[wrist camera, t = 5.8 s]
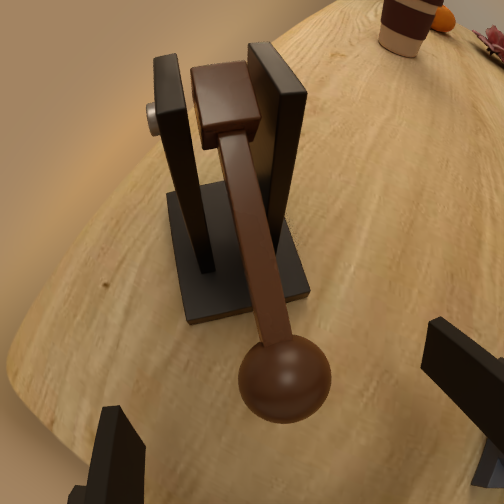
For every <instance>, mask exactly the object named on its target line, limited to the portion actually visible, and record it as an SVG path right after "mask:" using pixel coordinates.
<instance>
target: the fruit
mask: <svg viewBox="0 0 504 504" xmlns="http://www.w3.org/2000/svg"><path fill="white" fill-rule="evenodd" d="M435 15H436V16H435V18H434V21H433V23H432V25H431V28H432V29H434V30H436V31H440V32H449V31H451V30H452V29H453V28H454V26H455V23H456V21H455V17H454V15H453V14H452V12H451V11H450V10H449V9H448V8H446V7H445V6H444V5H442V7H438V8H437V10H436V13H435Z"/></svg>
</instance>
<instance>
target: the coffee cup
mask: <svg viewBox="0 0 504 504" xmlns="http://www.w3.org/2000/svg"><path fill="white" fill-rule="evenodd" d="M443 2H444V0H384V4H383V10H382V16H381V28H380V33H379V42H380V44H381V45H382V46H383V47H385V48H386V49H388V50H390V51H392V52H394V53H396V54H399V55H401V56H405V57H415V56H416V55H417V53H418V51H419V49H420V46H421V44H422V42H423V40H425V39H426V36H427V34H428V32H429V30H430V27H431V25H432V23H433V21H434V18H435V16H436V15H435V13H436V10H437V8H438V7H442V5H443Z"/></svg>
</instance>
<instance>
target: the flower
mask: <svg viewBox="0 0 504 504" xmlns="http://www.w3.org/2000/svg"><path fill="white" fill-rule="evenodd" d="M472 32H474V33H475V34H476V35H477V37H478V38H479V39H480V40H481V41H482V42H483V43H484V44H485V45H486V46H488V48H487V49H486V50H487V51H490V56H491V55H492V54H493V53H495V54H496V55H497V56H498V57H499V58H500V59H501V60H502V62H503V63H504V35H503V34H502V32H501V31H498V30H497V28H496V26H494V25H493V26H492V27H491V28H487V29H486V34H487V37H488V39H487V38H486V37H484V36H483V35H481V34H480V33H478V32H477V31H474V30H472Z"/></svg>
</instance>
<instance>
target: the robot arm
mask: <svg viewBox="0 0 504 504" xmlns="http://www.w3.org/2000/svg"><path fill="white" fill-rule="evenodd" d="M421 369H422V370H423V371H424V372H425V373H426V374H427V375H428V376H429V377H430V378H431V379H432V380H433V381H434V382H435V383H436V384H437V385H438V386H439V387H440V388H441V389H442V390H443V391H444V392H445V393H446V394H447V395H448V396H449V397H450V398H451V399H452V401H453V402H454V403H455V404H456V405H457V406H458V407H459V408H460V409H461V410H462V411H463V412H464V413H465V414H466V415H467V416H468V417H469V418H470V419H471V420H472V421H473V422H474V423H475V424H476V426H477V427H478V428H479V429H480V430H481V431H482V432H483V433H484V434H485V435H486V436H487V437H488V438H489V439H490V440H491V442H492V443H493V444H494V445H495V446H496V447H497V448H498V449H499V450H500V451H501V452H502V454H503V455H504V358H502V357H500V358H499V359H497V358H495V357H494V356H493V355H491V354H490V353H489V352H488V351H486V350H485V349H484V348H482V347H481V346H480V345H479V344H477V343H476V342H475V341H473V340H472V339H471V338H469V337H468V336H467V335H465V334H464V333H463V332H461V331H460V330H459V329H457V328H456V327H455V326H453V325H452V324H451V323H449V322H448V321H447V320H445V319H444V318H442V317H441V316H440V317H438V318H436V319H433V320H431V321H429V323H428V329H427V336H426V342H425V347H424V353H423V358H422V363H421ZM145 451H146V446H145V444H144V443H143V441H142V440H141V438H140V437H139V435H138V434H137V432H136V431H135V429H134V428H133V426H132V425H131V423H130V422H129V420H128V418H127V417H126V415H125V414H124V412H123V410H122V409H121V407H120V405H117V406H107V407H102V411H101V415H100V420H99V424H98V429H97V433H96V438H95V443H94V447H93V452H92V458H91V463H90V469H89V474H88V480H87V486H80V485H75V486H74V488H73V490H72V491H71V493H70V494H69V496H68V502H67V504H144V474H145Z"/></svg>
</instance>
